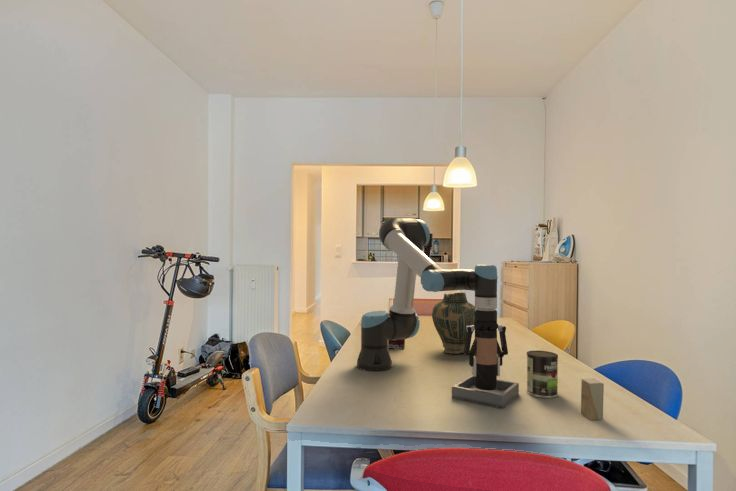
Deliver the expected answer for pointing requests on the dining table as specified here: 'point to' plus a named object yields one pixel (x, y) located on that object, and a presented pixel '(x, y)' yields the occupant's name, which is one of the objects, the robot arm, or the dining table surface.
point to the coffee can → (542, 374)
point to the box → (592, 399)
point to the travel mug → (486, 360)
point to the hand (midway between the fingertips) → (485, 375)
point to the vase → (453, 321)
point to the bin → (486, 393)
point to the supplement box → (397, 344)
